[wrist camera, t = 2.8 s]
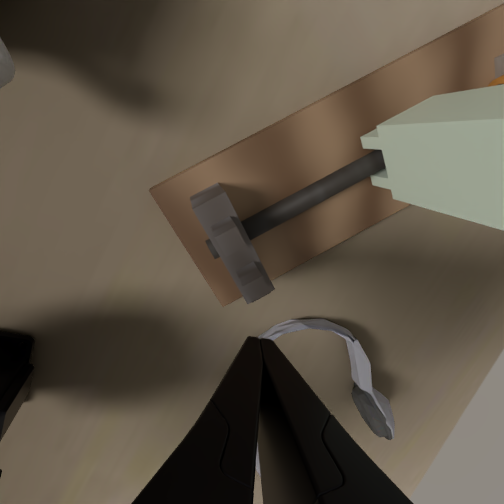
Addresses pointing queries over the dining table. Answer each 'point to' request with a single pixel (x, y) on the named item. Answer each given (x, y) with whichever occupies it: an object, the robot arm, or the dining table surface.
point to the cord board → (314, 168)
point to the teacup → (5, 65)
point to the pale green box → (447, 155)
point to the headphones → (364, 395)
